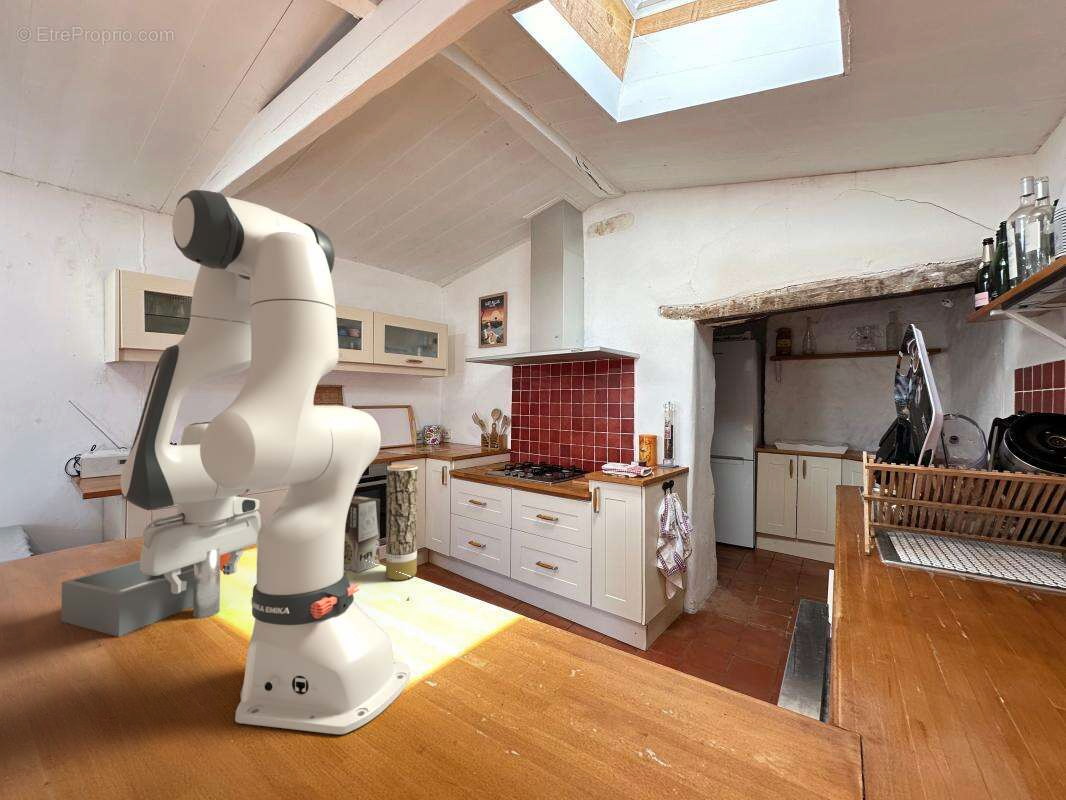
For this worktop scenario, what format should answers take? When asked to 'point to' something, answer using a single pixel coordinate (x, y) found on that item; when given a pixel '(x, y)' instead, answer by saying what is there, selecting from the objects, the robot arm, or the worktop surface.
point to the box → (123, 599)
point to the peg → (207, 585)
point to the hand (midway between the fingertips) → (205, 582)
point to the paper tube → (401, 521)
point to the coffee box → (362, 534)
